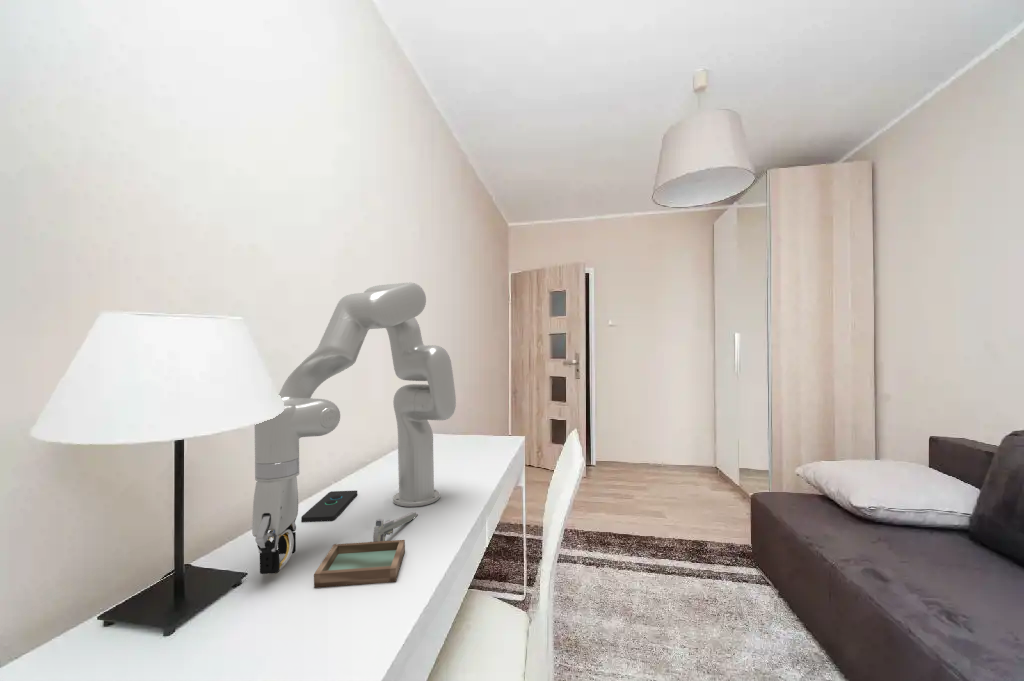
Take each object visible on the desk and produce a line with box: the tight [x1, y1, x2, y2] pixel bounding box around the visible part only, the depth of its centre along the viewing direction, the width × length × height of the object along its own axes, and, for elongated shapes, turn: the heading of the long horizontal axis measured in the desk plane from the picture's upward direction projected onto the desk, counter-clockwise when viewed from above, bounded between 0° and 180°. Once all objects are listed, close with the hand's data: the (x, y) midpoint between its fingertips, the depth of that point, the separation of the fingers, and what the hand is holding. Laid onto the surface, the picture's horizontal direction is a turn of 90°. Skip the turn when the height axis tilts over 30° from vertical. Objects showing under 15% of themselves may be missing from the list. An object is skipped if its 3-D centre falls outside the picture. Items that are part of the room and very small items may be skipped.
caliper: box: [372, 512, 419, 542], centre depth 101 cm, size 21×1×6 cm, turn 169°
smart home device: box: [300, 490, 358, 523], centre depth 118 cm, size 8×2×20 cm
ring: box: [267, 529, 294, 571], centre depth 85 cm, size 7×3×8 cm, turn 163°
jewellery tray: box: [313, 539, 406, 589], centre depth 85 cm, size 12×14×2 cm
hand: (278, 561), depth 85 cm, fingers closed on ring, 7 cm apart
